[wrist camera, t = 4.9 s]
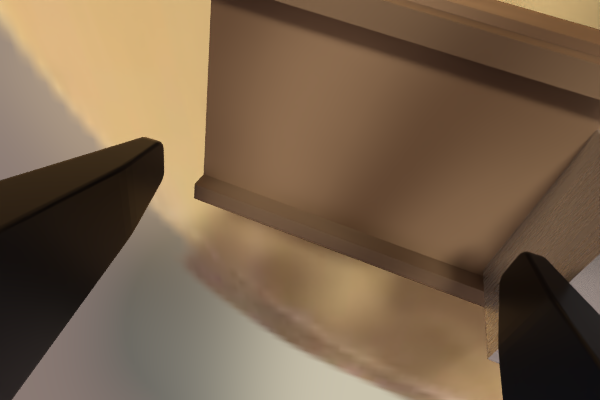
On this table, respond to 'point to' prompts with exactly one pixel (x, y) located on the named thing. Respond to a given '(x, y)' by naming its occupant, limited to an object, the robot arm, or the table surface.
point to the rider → (556, 236)
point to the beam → (395, 125)
